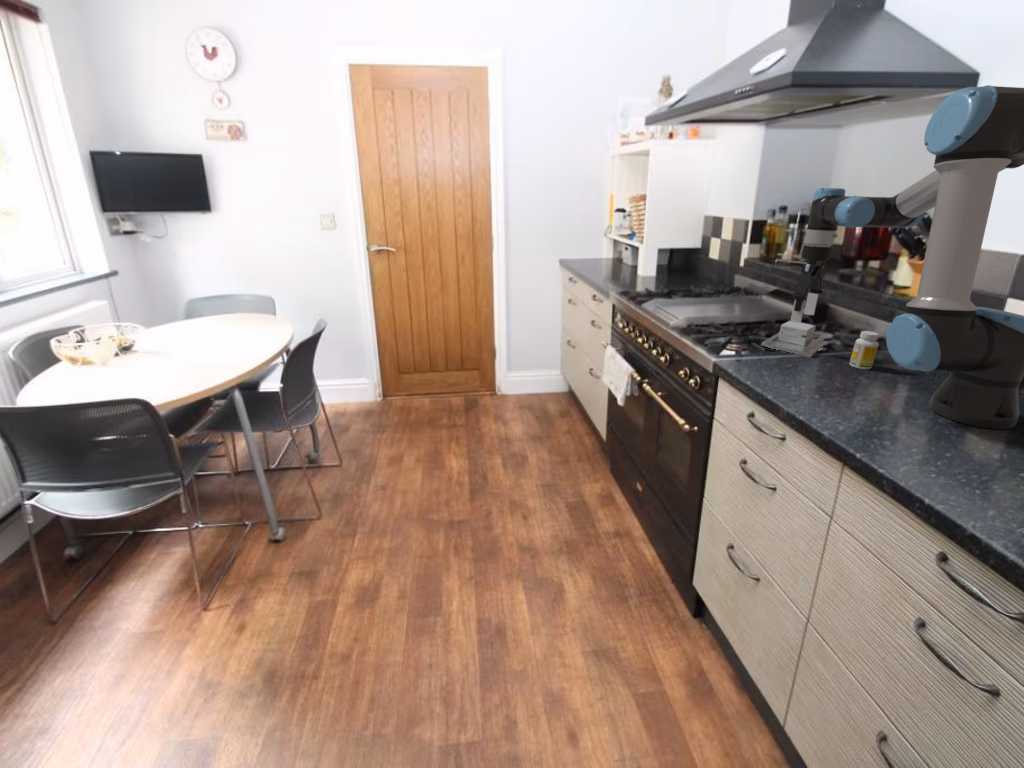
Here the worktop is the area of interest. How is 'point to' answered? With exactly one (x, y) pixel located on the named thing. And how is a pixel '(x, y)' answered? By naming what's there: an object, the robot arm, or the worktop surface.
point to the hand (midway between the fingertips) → (802, 318)
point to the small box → (796, 333)
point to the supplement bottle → (864, 350)
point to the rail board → (796, 345)
